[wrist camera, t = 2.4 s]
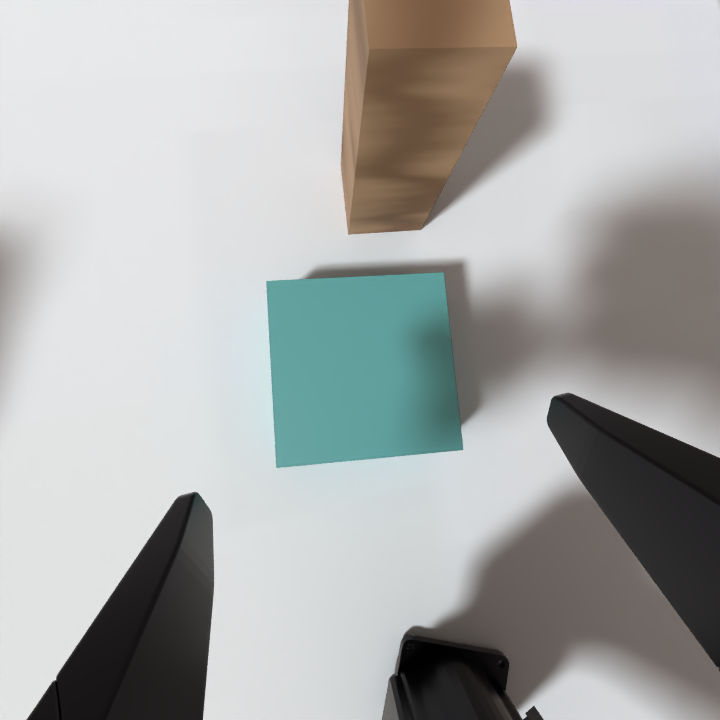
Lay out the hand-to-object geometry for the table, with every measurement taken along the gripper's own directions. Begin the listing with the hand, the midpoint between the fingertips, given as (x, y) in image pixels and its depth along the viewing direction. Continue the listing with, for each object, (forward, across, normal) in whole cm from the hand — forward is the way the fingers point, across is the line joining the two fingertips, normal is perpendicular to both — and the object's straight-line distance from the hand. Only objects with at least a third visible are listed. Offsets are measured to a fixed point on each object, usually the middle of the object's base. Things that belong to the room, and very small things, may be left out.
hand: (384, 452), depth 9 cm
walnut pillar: (+20, -5, -1) cm, 21 cm away
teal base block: (+13, -1, +8) cm, 15 cm away
